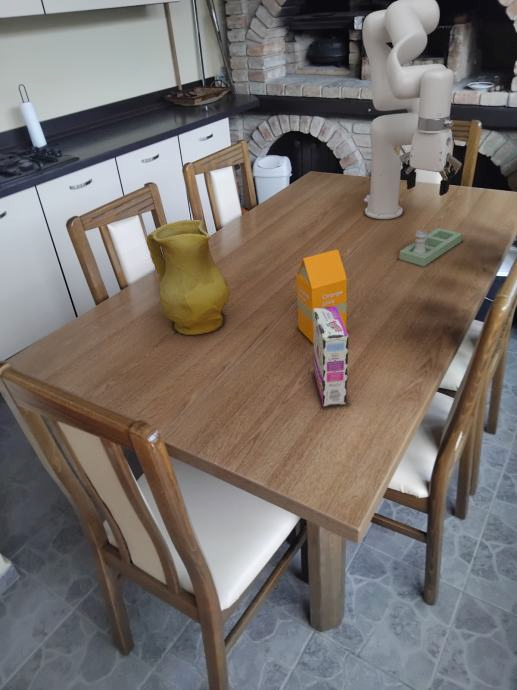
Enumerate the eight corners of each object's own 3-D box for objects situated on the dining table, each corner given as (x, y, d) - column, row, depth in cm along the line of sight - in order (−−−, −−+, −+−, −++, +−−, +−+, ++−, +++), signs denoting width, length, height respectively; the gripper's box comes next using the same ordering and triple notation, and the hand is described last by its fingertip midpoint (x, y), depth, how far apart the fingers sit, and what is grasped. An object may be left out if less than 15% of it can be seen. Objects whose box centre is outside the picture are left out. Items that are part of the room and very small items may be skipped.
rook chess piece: (427, 261, 153) (430, 235, 149) (410, 261, 154) (413, 234, 150) (426, 254, 157) (429, 228, 152) (410, 254, 158) (412, 228, 153)
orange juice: (298, 328, 130) (294, 252, 119) (330, 318, 132) (329, 242, 121) (313, 344, 124) (311, 265, 113) (346, 333, 126) (348, 255, 115)
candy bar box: (348, 405, 106) (349, 335, 97) (323, 407, 106) (322, 338, 96) (336, 370, 115) (337, 304, 106) (313, 373, 115) (311, 307, 106)
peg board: (399, 259, 156) (399, 251, 155) (437, 235, 167) (438, 227, 166) (423, 266, 151) (424, 258, 150) (461, 241, 162) (462, 233, 161)
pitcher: (178, 348, 126) (160, 246, 113) (154, 317, 141) (136, 224, 128) (244, 327, 132) (234, 229, 119) (214, 300, 147) (203, 209, 134)
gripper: (473, 123, 132) (463, 192, 142) (411, 117, 143) (406, 182, 153) (457, 130, 128) (449, 200, 138) (395, 123, 139) (391, 189, 148)
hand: (426, 191), depth 145 cm, fingers open, 9 cm apart
